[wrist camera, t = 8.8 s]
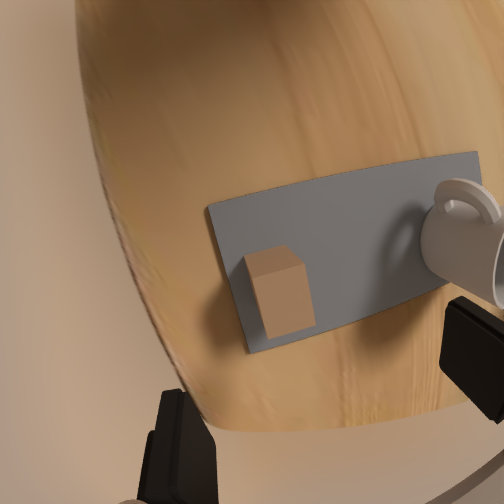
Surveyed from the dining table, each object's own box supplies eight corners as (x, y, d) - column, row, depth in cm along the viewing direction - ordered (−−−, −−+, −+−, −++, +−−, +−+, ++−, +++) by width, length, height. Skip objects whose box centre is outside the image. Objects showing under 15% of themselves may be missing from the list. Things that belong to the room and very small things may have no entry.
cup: (434, 289, 24) (499, 328, 15) (390, 203, 21) (471, 220, 13) (476, 241, 23) (542, 264, 15) (440, 155, 21) (518, 155, 12)
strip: (207, 205, 20) (204, 213, 15) (474, 151, 21) (514, 151, 16) (250, 351, 23) (258, 393, 18) (482, 263, 25) (516, 278, 19)
